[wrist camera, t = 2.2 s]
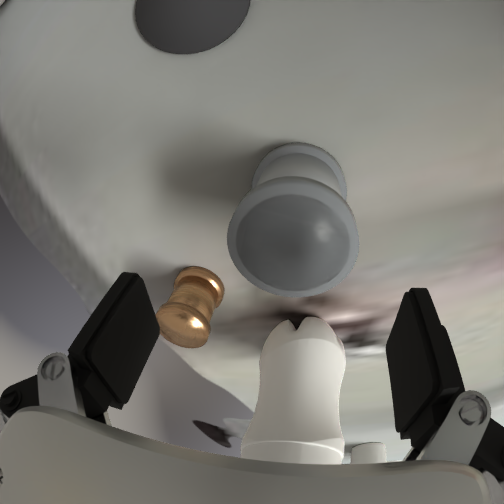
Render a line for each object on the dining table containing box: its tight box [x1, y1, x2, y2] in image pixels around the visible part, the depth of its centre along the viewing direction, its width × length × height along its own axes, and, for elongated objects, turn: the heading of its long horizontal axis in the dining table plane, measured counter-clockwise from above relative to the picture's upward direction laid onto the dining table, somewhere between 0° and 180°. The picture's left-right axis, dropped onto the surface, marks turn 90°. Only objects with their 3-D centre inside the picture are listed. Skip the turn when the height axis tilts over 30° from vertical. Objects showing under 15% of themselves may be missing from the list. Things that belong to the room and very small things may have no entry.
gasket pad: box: [135, 0, 250, 54], centre depth 13 cm, size 7×7×1 cm
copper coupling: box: [156, 266, 224, 348], centre depth 23 cm, size 4×4×5 cm
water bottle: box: [240, 317, 346, 464], centre depth 16 cm, size 7×7×25 cm
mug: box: [350, 443, 387, 464], centre depth 37 cm, size 10×7×12 cm, turn 35°
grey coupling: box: [227, 143, 359, 297], centre depth 16 cm, size 6×6×7 cm
